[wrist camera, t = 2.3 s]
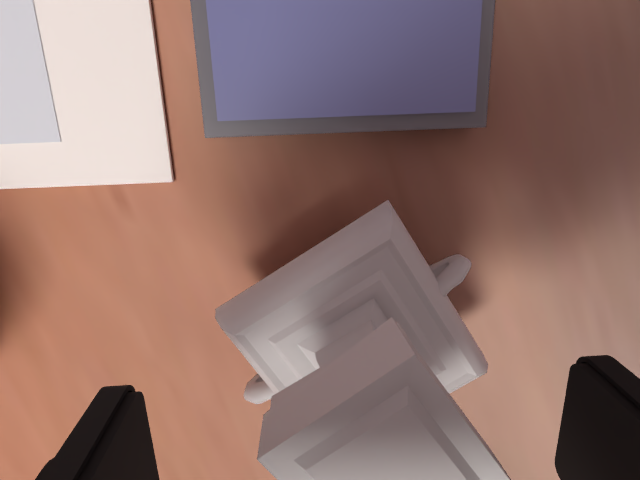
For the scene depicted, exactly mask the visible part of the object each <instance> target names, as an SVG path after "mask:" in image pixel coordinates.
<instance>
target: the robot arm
mask: <svg viewBox="0 0 640 480" xmlns="http://www.w3.org/2000/svg"><path fill="white" fill-rule="evenodd" d="M555 467H556V471H557V473H558V476H559V478H560V479H561V480H640V379H639V378H638V377H637V376H635V375H634V374H633V373H632V372H630V371H629V370H628V369H627V368H625V367H624V366H623V365H622V364H620V363H619V362H618V361H617V360H616V359H614V358H613V357H611V356H608V355H601V356H585V357H580V358H579V359H578V360H577V362H576V364H573V365H572V366H571V368H570V371H569V377H568V383H567V389H566V396H565V402H564V408H563V414H562V420H561V426H560V432H559V438H558V444H557V450H556V456H555ZM35 480H159V475H158V470H157V465H156V459H155V454H154V449H153V443H152V438H151V433H150V427H149V422H148V417H147V412H146V406H145V401H144V396H143V394H142V392H135V389H134V387H133V386H131V385H123V386H107V387H103V388H101V389H100V390H99V392H98V393H97V395H96V396H95V398H94V399H93V401H92V402H91V404H90V405H89V407H88V408H87V410H86V411H85V413H84V414H83V416H82V417H81V419H80V420H79V422H78V423H77V425H76V426H75V428H74V429H73V431H72V432H71V434H70V435H69V437H68V438H67V440H66V441H65V443H64V444H63V446H62V447H61V449H60V450H59V452H58V453H57V455H56V456H55V458H53V459H51V460H49V462H48V463H47V464H46V465H45V466H44V467H43V469H42V470H41V472H40V473H39V475H38V476H37V478H36V479H35Z"/></svg>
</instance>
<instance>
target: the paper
mask: <svg viewBox="0 0 640 480" xmlns="http://www.w3.org/2000/svg"><path fill="white" fill-rule="evenodd" d="M173 181H174V176H173V169H172V161H171V153H170V146H169V138H168V130H167V123H166V115H165V107H164V100H163V92H162V84H161V77H160V69H159V62H158V54H157V46H156V39H155V31H154V23H153V16H152V8H151V0H0V189H13V188H38V187H63V186H87V185H112V184H137V183H161V182H173Z"/></svg>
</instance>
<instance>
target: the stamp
mask: <svg viewBox="0 0 640 480" xmlns="http://www.w3.org/2000/svg"><path fill="white" fill-rule="evenodd" d="M471 265H472V264H471V261H470V260H469V259H467V258H466V257H464V256H462V255H460V254H456V255H453V256H450V257H447V258H444V259H442V260H441V261H439V262H437V263H434V264H432V265H430V266H429V265H428V264H427V262H426V260H425V259H424V257H423V255H422V254H421V252H420V251H419V249H418V247H417V246H416V244H415V242H414V241H413V239H412V237H411V236H410V234H409V233H408V231H407V229H406V228H405V226H404V224H403V223H402V221H401V220H400V218H399V216H398V215H397V213H396V211H395V210H394V208H393V207H392V205H391V203H390V202H389V200H387V201H385V202H384V203H382V204H380V205H379V206H377V207H376V208H374V209H373V210H371V211H369V212H368V213H366V214H365V215H363V216H361V217H360V218H358V219H357V220H355V221H354V222H352V223H350V224H349V225H347V226H346V227H344V228H343V229H341V230H339V231H338V232H336V233H335V234H333V235H332V236H330V237H328V238H327V239H325V240H324V241H322V242H320V243H319V244H317V245H316V246H314V247H313V248H311V249H309V250H308V251H306V252H305V253H303V254H302V255H300V256H298V257H297V258H295V259H294V260H292V261H291V262H289V263H287V264H286V265H284V266H283V267H281V268H279V269H278V270H276V271H275V272H273V273H272V274H270V275H268V276H267V277H265V278H264V279H262V280H261V281H259V282H257V283H256V284H254V285H253V286H251V287H250V288H248V289H246V290H245V291H243V292H242V293H240V294H238V295H237V296H235V297H234V298H232V299H231V300H229V301H227V302H226V303H224V304H223V305H221V306H220V307H218V308H216V309H215V310H216V314H215V319H216V320H217V322H218V324H219V325H220V327H221V328H222V330H223V331H224V332H225V333H226V335H227V336H228V337H229V338H230V340H231V341H232V342H233V343H234V345H235V346H236V347H237V348H238V349H239V351H240V352H241V353H242V354H243V356H244V357H245V358H246V359H247V361H248V362H249V363H250V364H251V366H252V367H253V368H254V369H255V370H256V372H257V373H258V374H256V375H255V376H254V377H253V378H252V379H251V380H250V381H249V382H248V383H247V385H246V388H245V391H244V398H245V400H247V401H249V402H252V403H255V404H261V403H263V402H265V401H267V400H269V399H271V408H270V410H269V411H267V412H266V413H265V414H264V415H263V422H262V429H261V436H260V443H259V450H258V457H257V460H258V461H259V462H260V463H261V464H262V465H263V466H264V467H265V468H266V469H267V470H268V471H269V472H270V473H271V474H272V475H273V476H274V477H275V478H276V479H277V480H511V479H510V478H509V476H508V475H507V473H506V472H505V470H504V469H503V467H502V466H501V464H500V463H499V461H498V460H497V458H496V457H495V455H494V454H493V452H492V451H491V449H490V448H489V446H488V445H487V444H486V442H485V441H484V440H483V438H482V437H481V436H480V434H479V433H478V432H477V430H476V429H475V428H474V426H473V425H472V424H471V422H470V421H469V420H468V418H467V417H466V416H465V414H464V413H463V412H462V410H461V409H460V408H459V406H458V405H457V404H456V402H455V401H454V400H453V398H452V397H451V396H450V394H449V393H451V392H453V391H455V390H457V389H458V388H460V387H462V386H464V385H466V384H467V383H469V382H471V381H473V380H475V379H476V378H478V377H480V376H482V375H484V374H485V373H487V369H488V363H487V361H486V359H485V357H484V355H483V353H482V351H481V350H480V348H479V347H478V345H477V343H476V342H475V340H474V338H473V337H472V335H471V334H470V332H469V330H468V329H467V327H466V325H465V324H464V322H463V320H462V319H461V317H460V316H459V314H458V312H457V311H456V309H455V307H454V306H453V304H452V303H451V301H450V299H449V298H448V296H447V294H448V293H449V292H450V291H451V290H452V289H453V288H454V287H456V286H457V285H459V284H460V283H461V282H463V280H464V278H465V277H466V275H467V273H468V271H469V270H470V268H471Z"/></svg>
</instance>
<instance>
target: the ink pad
mask: <svg viewBox="0 0 640 480" xmlns="http://www.w3.org/2000/svg"><path fill="white" fill-rule="evenodd" d="M190 2H191V12H192V21H193V30H194V40H195V49H196V58H197V68H198V77H199V86H200V96H201V105H202V114H203V123H204V133H205V138H215V137H241V136H268V135H294V134H320V133H347V132H373V131H399V130H426V129H452V128H478V127H486V122H487V108H488V94H489V80H490V66H491V52H492V37H493V23H494V9H495V0H190Z"/></svg>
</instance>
